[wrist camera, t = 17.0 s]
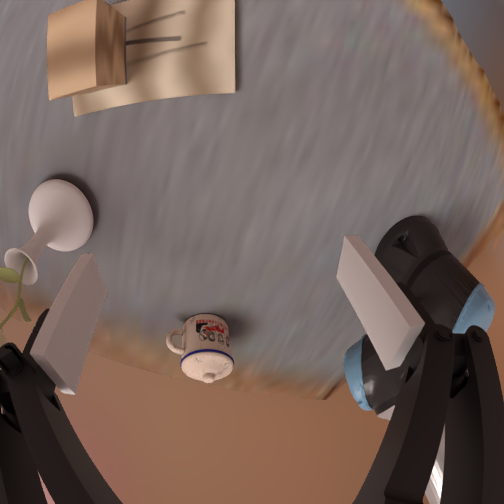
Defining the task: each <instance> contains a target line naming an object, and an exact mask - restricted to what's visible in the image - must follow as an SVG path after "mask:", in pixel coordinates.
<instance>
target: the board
mask: <svg viewBox="0 0 504 504" xmlns="http://www.w3.org/2000/svg"><path fill="white" fill-rule="evenodd" d="M110 6H112V7H113V8H114V9H116V10H117V11H118V12H120V13H121V14H122V15H124V16H125V17H126V67H127V84H126V85H121V86H117V87H112V88H108V89H104V90H99V91H95V92H92V93H87V94H80V95H74V96H72V98H73V109H74V117H76V116H79V115H83V114H87V113H91V112H95V111H99V110H103V109H107V108H112V107H117V106H122V105H127V104H132V103H138V102H144V101H150V100H157V99H164V98H172V97H181V96H191V95H202V94H218V93H235V0H129V1H125V2H120V3H117V4H113V5H110Z"/></svg>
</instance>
